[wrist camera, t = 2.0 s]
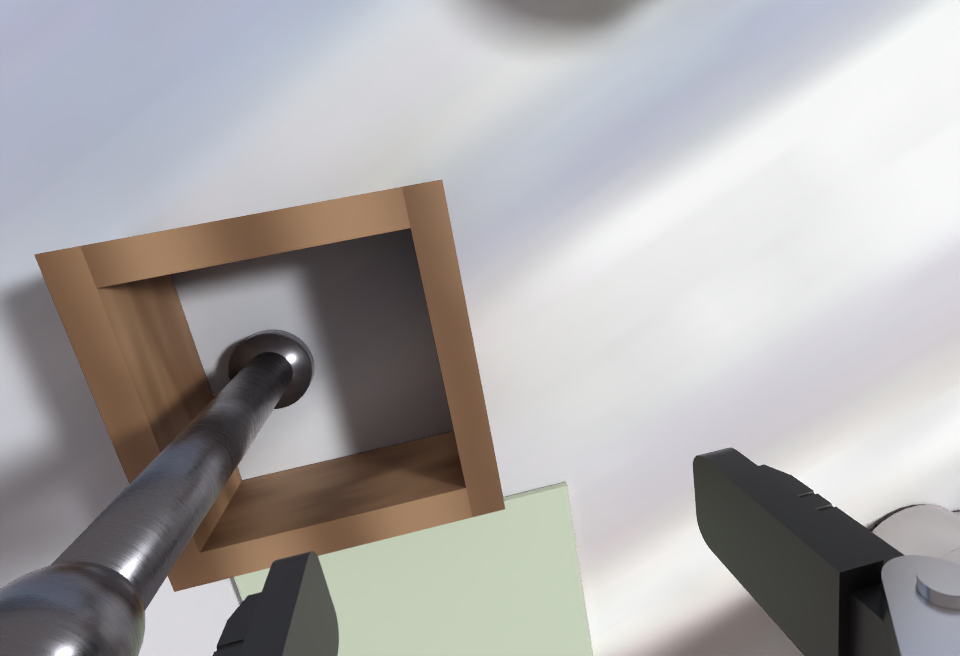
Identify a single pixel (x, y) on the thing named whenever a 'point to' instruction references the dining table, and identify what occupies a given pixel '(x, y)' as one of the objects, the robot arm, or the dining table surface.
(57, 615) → the metal dumbbell
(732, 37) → the dining table surface
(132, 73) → the dining table surface
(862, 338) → the dining table surface
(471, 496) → the walnut frame
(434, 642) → the sage mat
